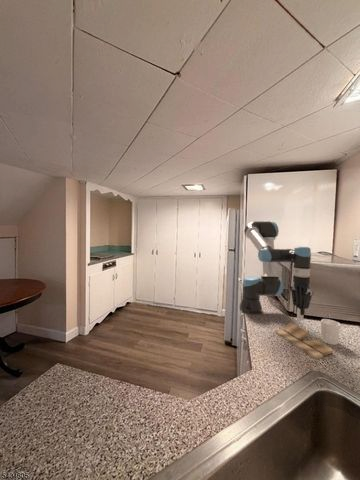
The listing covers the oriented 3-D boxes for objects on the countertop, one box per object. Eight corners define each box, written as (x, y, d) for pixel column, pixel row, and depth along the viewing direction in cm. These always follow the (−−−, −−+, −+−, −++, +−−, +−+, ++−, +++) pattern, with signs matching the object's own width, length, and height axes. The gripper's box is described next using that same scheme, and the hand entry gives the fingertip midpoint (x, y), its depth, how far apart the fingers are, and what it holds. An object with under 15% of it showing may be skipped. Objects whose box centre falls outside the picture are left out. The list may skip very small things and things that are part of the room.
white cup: (339, 347, 98) (340, 327, 98) (319, 342, 103) (320, 322, 102) (339, 340, 104) (340, 321, 104) (320, 335, 109) (321, 317, 109)
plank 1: (283, 330, 113) (282, 328, 112) (291, 324, 114) (290, 322, 114) (300, 340, 102) (299, 339, 102) (308, 333, 103) (307, 331, 103)
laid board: (275, 332, 112) (275, 330, 112) (282, 331, 113) (282, 329, 113) (315, 358, 89) (315, 355, 89) (323, 357, 90) (323, 354, 90)
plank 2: (302, 342, 101) (302, 340, 101) (311, 340, 103) (311, 337, 103) (323, 355, 91) (323, 353, 91) (333, 352, 92) (333, 349, 92)
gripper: (286, 273, 113) (284, 316, 113) (306, 278, 100) (305, 326, 101) (296, 273, 115) (295, 314, 115) (318, 278, 102) (316, 324, 103)
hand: (300, 320), depth 108 cm, fingers closed
